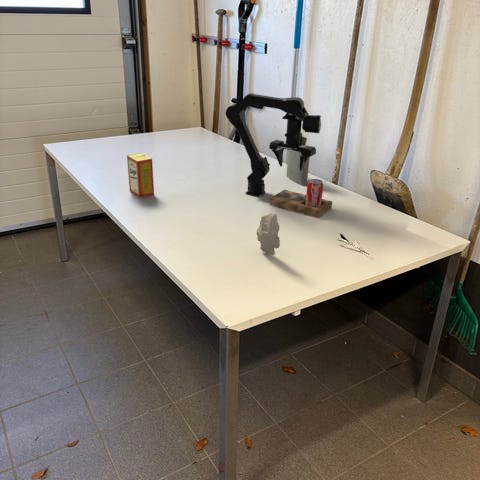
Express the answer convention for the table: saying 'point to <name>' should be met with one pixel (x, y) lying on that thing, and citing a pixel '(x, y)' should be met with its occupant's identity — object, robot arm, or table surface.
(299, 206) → the wooden tray
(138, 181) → the baking soda box
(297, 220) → the table surface
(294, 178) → the hip flask
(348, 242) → the toy airplane
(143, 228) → the table surface
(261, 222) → the grey figurine
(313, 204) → the soda can
